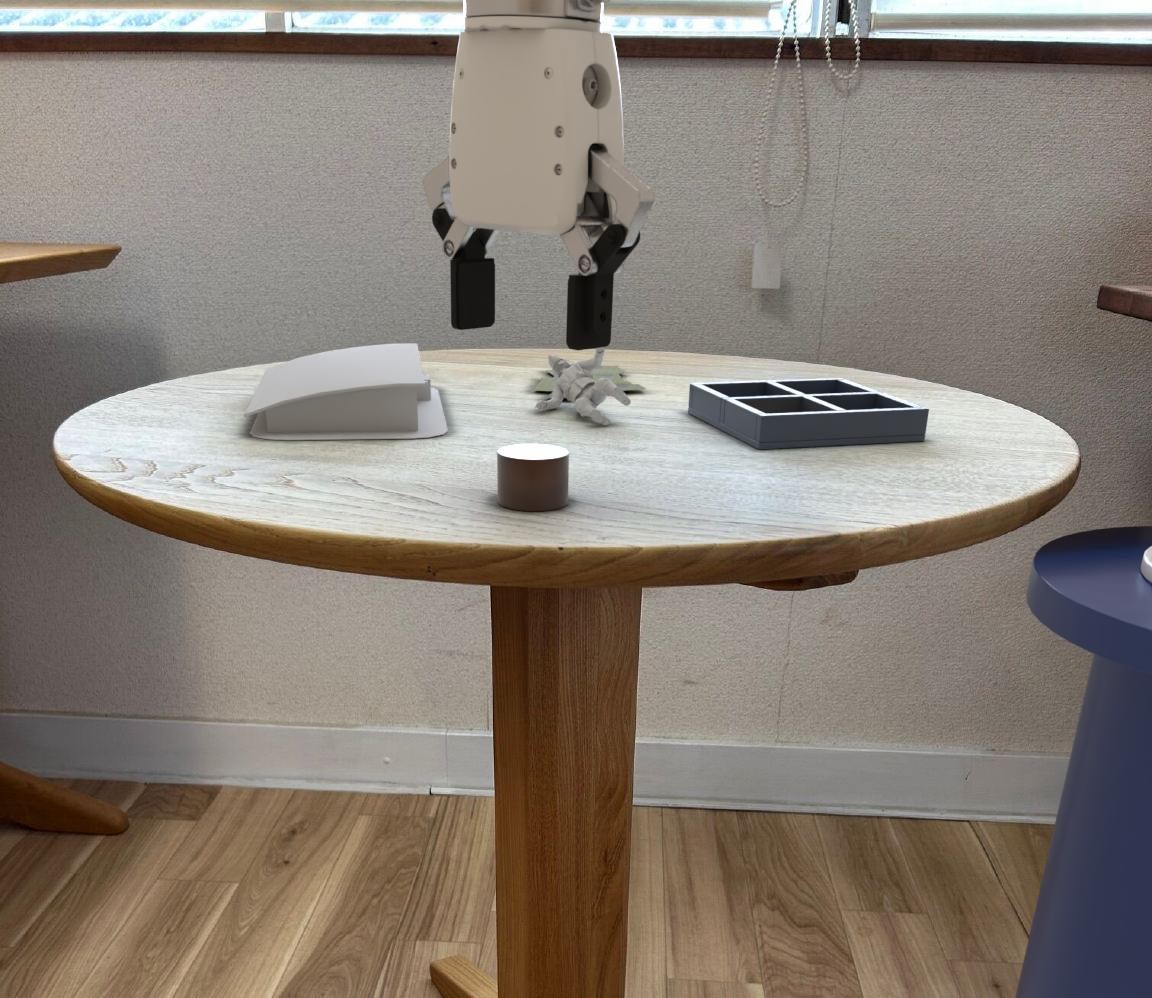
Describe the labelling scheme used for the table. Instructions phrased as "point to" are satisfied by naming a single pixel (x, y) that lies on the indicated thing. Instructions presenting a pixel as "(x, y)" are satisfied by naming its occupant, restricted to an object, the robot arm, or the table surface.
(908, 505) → the table surface
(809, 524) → the table surface
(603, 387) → the soldier figure
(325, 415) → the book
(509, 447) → the cylinder
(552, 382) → the map
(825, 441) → the grid
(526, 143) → the robot arm
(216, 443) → the table surface
